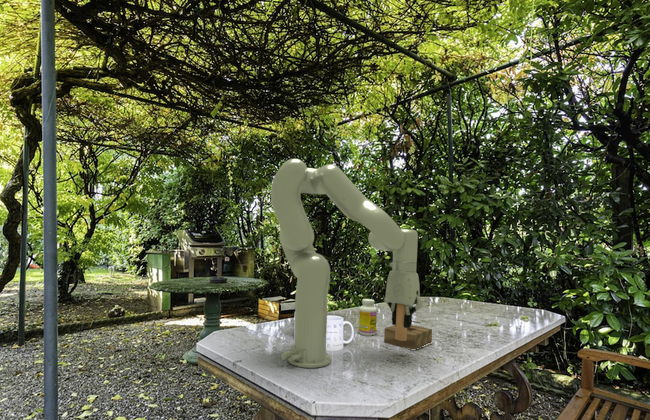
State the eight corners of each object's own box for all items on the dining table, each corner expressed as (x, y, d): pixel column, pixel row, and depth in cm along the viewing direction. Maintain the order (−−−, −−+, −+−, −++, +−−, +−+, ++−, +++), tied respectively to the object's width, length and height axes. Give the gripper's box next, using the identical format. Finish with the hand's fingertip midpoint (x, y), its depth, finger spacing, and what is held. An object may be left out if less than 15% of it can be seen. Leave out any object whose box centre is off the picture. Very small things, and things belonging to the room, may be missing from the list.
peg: (402, 341, 113) (404, 302, 114) (392, 338, 115) (394, 300, 116) (408, 339, 116) (410, 301, 117) (398, 337, 118) (400, 299, 119)
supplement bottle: (370, 337, 135) (371, 302, 136) (355, 334, 139) (356, 299, 140) (379, 333, 141) (380, 299, 141) (364, 330, 145) (365, 297, 145)
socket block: (414, 350, 121) (414, 335, 121) (384, 342, 129) (384, 328, 129) (431, 343, 129) (432, 329, 130) (402, 336, 137) (402, 323, 138)
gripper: (376, 265, 120) (373, 321, 119) (422, 270, 109) (419, 333, 107) (388, 265, 126) (386, 319, 124) (433, 270, 114) (431, 330, 113)
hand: (401, 325), depth 116 cm, fingers closed on peg, 3 cm apart
